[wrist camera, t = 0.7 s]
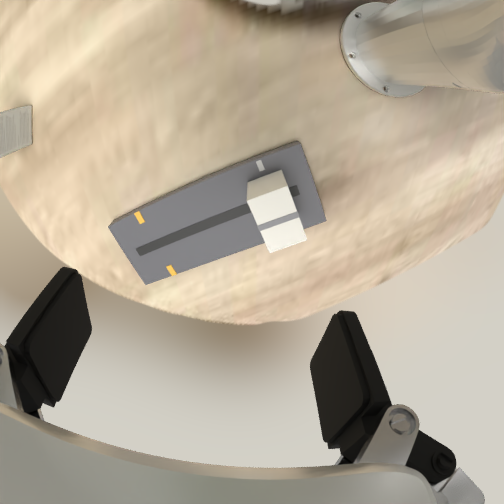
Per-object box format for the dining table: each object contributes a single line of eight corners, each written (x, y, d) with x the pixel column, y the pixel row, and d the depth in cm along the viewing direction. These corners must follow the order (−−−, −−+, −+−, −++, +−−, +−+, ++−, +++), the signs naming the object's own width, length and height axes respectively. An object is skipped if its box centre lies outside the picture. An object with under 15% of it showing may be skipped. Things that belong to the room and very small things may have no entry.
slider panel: (297, 140, 31) (300, 143, 30) (322, 214, 36) (326, 221, 34) (113, 220, 36) (107, 227, 35) (149, 276, 41) (145, 285, 39)
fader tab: (281, 169, 31) (288, 185, 26) (299, 215, 34) (307, 240, 29) (247, 182, 32) (246, 201, 26) (266, 227, 35) (269, 253, 29)
